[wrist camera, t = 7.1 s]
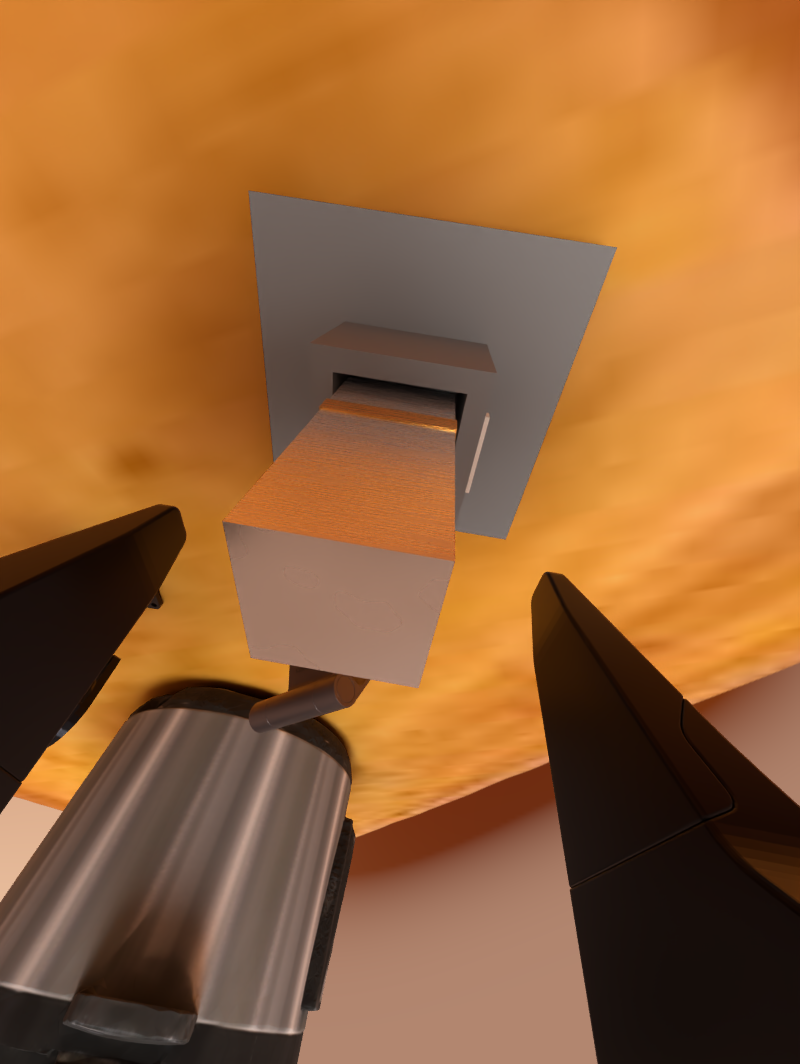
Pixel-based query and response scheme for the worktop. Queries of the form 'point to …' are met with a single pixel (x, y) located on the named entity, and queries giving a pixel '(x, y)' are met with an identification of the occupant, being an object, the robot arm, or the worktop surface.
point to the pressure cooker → (182, 894)
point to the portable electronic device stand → (306, 698)
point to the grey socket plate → (425, 328)
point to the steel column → (352, 536)
